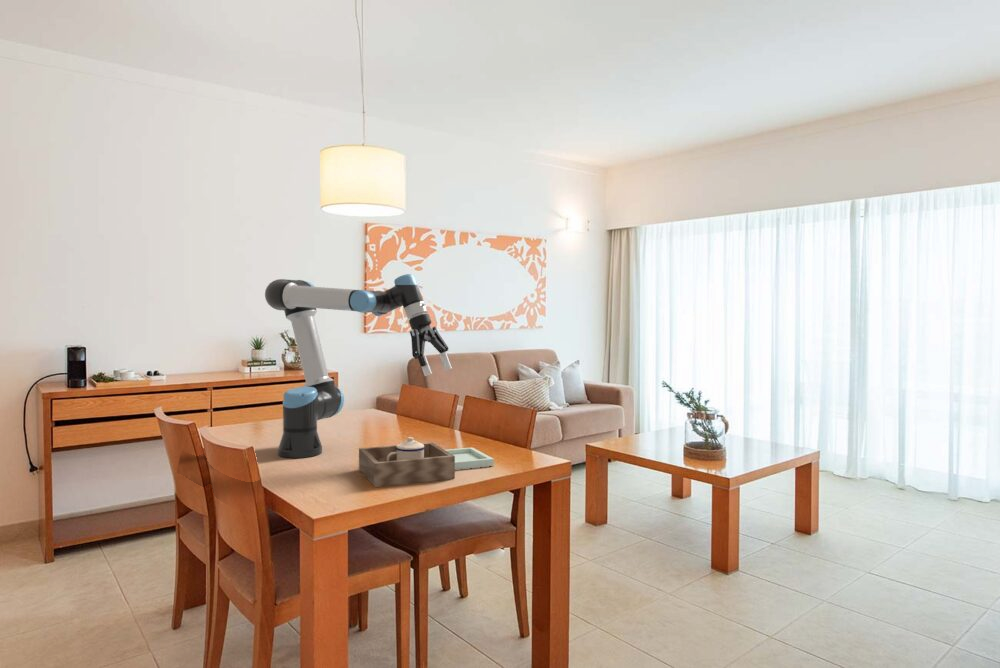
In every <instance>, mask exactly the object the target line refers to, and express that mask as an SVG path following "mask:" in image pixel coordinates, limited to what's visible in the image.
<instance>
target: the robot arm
mask: <svg viewBox="0 0 1000 668" xmlns="http://www.w3.org/2000/svg"><path fill="white" fill-rule="evenodd" d="M416 279H417V278H415V275H413V274H411V273H406V274H403V275H400V276H397V278H395V279H394V280H393V283H394V286H392V287H390V288H389V289H387V290H383V291H382V290H381V291H379V290H368V289H352V288H351V289H350V288H339V287H338V288H335V287H325V286H323V287H321V286H319V287H318V286H315V285H314V284H312V283H311V282H309V281H305V280H303V279H302V280H301V279H285V278H280V279H275V280H272V281H271V282H270V283H268V285H267V286H266V288H265V292H264V297H265V301H266V303H267V305H269V306H270V307H271V308H273V310H274V309H275V310H277V311H284V314H285V319H286V320H288V321H290V322H291V326H292V331H293V335H294V338H295V343H296V347H297V351H298V355H299V360H300V363H301V368H302V371H303V376H304V380H305V383H304V385H303V386H299V387H294V388H290V389H287V390H286V391H284V394H283V396H282V397H283V399H282V421H283V422H282V429H283V433H282V436H281V439H280V442H279V444H278V448H277V455H278V456H279V457H282V458H288V459H290V458H291V459H299V458H300V459H302V458H309V457H315V456H319V455H321V454H322V453H323V445H322V442H321V439H320V436H319V433H318V421H320V420H325V419H329V418H332V417H334V416H336V415H338V414H339V413H340V412H341V411H342V409H343V407H344V404H345V396H344V393H343V391H342V389H340V388H339V387H338V386H336V384H335V380H334V378H332V377H330V376H329V373H328V367H327V365H326V360H325V357H324V352H323V349H322V348H323V347H322V344H321V340H320V336H319V331H318V328H317V323H316V320H315V319H316V318H315V315H316V314H317V312H318V311H317V309H321V310H322V309H323V310H333V311H334V310H335V311H348V312H349V311H350V312H358V313H362V314H363V313H364V314H367V313H372V315H374V316H376V317H381V316H384V315H387V314H388V313H390V312H392V311H395V310H396V309H399V308H401V307H403V310H404V312H405V313H404V314H405V315H406V318H407V320H408V323H409V326H410V328H411V330H410V331H409V334H410V337H411V355H412V357H413V359H415V360H418V363H419V364H420V367H421V369H422V372H423V375H424V377H427V376H430V375H431V374H433V372H432V370H431V366H430V364H429V361H428V359H427V356H426V355H424V354H425V346H426V342H427V343H430V344H431V345H432V346H433V347H434V348H435V350H436V351H437V352H438V353H439V354H438V356H439V358H440V361H441V364H442V367H443V369H444V371H445V372H446V371H449V370H452V369H453V367H452V365H451V362H450V359H449V357H448V353H447V352H448V351H449V346H448V345H447V344H446V342H445V340H444V339H443V337H442V336H441V334H439V332H438V329H437V327H436V326H433V327H431V324H432V320H431V317H430V314H429V313H428V310H427V309H428V308H427V307H426V303H425V301H424V299H423V296H422V293H421V290H420V287H419V284H418V281H417V280H416Z"/></svg>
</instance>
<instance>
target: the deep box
mask: <svg viewBox="0 0 1000 668" xmlns="http://www.w3.org/2000/svg"><path fill="white" fill-rule="evenodd" d="M421 443H422V444H423V445H424V447H425V448H424V458H418V459H407V460H397V454H394V455H391V456H390V457H389V461H387V456H388V454H389V453H391V452H397V449H396V446H397V445H398V444H396V445H384V446H371V447H359V448H358V471H359V472H360V473H361V472H362V473H363V474H364V475H363V474H362V473H361V474H362V475H363V476H364V477H365V478H366V480H367V481H368V482H370V483H372V484H373V485H374V486H373V485H372V484H371V485H372V486H373V487H374V488H380V487H390V486H399V485H407V484H416V483H425V482H435V481H445V480H452V479H453V480H454V478H456V477H455V475H456V474H455V473H456V470H455V456H454V455H452V454H450V453H449V452H447V451H445V450H446V449H444V448H443V447H440V446H439V445H438V444H436V443H434V442H433V441H432V442H421Z"/></svg>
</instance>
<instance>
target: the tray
mask: <svg viewBox="0 0 1000 668" xmlns="http://www.w3.org/2000/svg"><path fill="white" fill-rule="evenodd" d="M444 450H445V451H447V452H449V453H450V454H452V455H454V456H455V471H461V469H462V470H468V469H469V470H470V468H472V469H479V468H480V467H482V468H490V467H489V466H491V467H494V466H495V465H494V463H495V462H494V461H495V459H494V458H493V457H491V456H489V455H487V454H485V453H484V452H482V451H480V450H478V449H476V448H475V447H473V446H472V447H463V448H461V447H460V448H451V449H444ZM480 469H481V468H480Z"/></svg>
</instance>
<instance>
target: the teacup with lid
mask: <svg viewBox="0 0 1000 668" xmlns="http://www.w3.org/2000/svg"><path fill="white" fill-rule="evenodd" d="M422 443H423V442H419V441H417V440H415V439H414V437H412V436H408V437H407V438H406V440H404V441H403V442H401V443H398V444H396V445H397V446H396V449H397V452H391V453H389V454H388V456H387V461H389V457H390V456H391V455H394V454H397V460H407V459H418V458H424V448H425V447H424V445H423V444H422Z"/></svg>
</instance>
